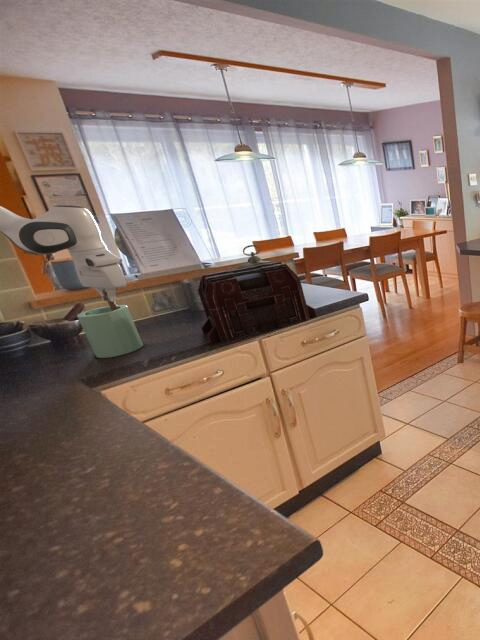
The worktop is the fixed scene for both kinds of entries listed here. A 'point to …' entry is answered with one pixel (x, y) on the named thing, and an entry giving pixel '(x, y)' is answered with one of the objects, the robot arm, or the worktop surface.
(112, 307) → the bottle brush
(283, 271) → the crate
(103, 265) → the robot arm
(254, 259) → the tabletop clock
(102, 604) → the worktop surface
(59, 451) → the worktop surface
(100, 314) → the jar
